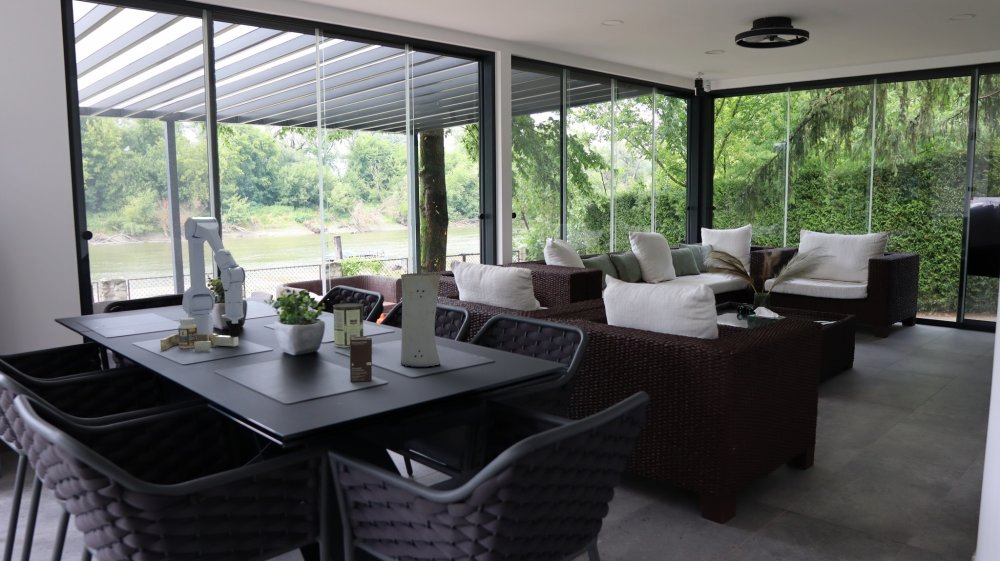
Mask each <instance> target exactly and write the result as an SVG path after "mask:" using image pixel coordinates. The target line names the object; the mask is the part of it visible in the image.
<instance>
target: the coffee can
mask: <svg viewBox="0 0 1000 561" xmlns="http://www.w3.org/2000/svg"><path fill="white" fill-rule="evenodd" d="M332 307H333V335H334V336H333V338H334V341H333V342H334V344H333V346H334V347H335V348H342V349H343V348H345V349H346V348H348V349H350V348H349V347H350V337H364V304H363V303H360V302H359V303H358V302H356V303H355V302H347V303H344V302H343V303H337V304H333V305H332Z"/></svg>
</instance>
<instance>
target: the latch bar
mask: <svg viewBox="0 0 1000 561" xmlns="http://www.w3.org/2000/svg"><path fill="white" fill-rule="evenodd" d="M208 341H211V345H221V346H222V347H237V346H239V341H238V337H237V336H231V335H224V334H223V335H221V334H220V335H219V334H218V333H216V334H210V335H209V338H208Z"/></svg>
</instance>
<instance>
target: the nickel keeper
mask: <svg viewBox="0 0 1000 561" xmlns="http://www.w3.org/2000/svg"><path fill="white" fill-rule="evenodd" d="M211 351H212V347H211V341H209V340H208V341H196V342H195V348H194V352H197V353H198V352H200V353H201V352H207V353H210V352H211Z"/></svg>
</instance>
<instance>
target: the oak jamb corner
mask: <svg viewBox="0 0 1000 561" xmlns="http://www.w3.org/2000/svg"><path fill="white" fill-rule="evenodd" d="M197 341H209V338H208V334H197ZM176 344H179V333H173V334H170V335H168V336H166V337H164V338H162V339H160V351H167V350H168V349H170V348H172V347H175V346H176Z"/></svg>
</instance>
